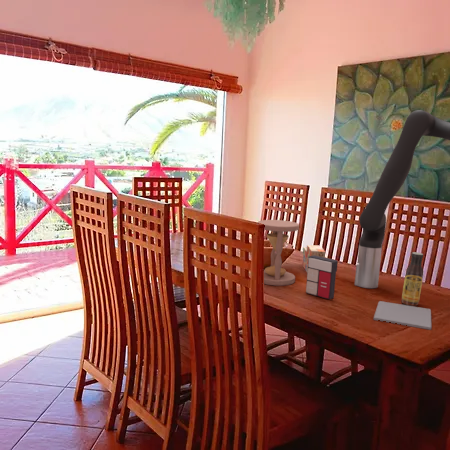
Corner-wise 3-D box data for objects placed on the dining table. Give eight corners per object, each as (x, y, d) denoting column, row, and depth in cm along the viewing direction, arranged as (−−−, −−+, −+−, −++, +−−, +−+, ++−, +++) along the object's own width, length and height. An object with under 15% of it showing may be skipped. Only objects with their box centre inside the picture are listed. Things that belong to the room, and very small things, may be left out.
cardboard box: (301, 265, 229) (303, 240, 227) (314, 265, 229) (316, 241, 227) (309, 277, 208) (311, 250, 206) (323, 277, 208) (325, 251, 206)
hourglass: (294, 287, 191) (298, 227, 186) (252, 283, 193) (255, 224, 189) (295, 276, 208) (299, 221, 204) (256, 272, 211) (260, 218, 206)
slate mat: (373, 319, 157) (373, 317, 157) (378, 302, 176) (379, 300, 175) (431, 329, 150) (431, 327, 150) (430, 311, 169) (430, 309, 169)
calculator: (304, 293, 183) (307, 256, 181) (310, 291, 186) (313, 254, 184) (328, 300, 176) (332, 262, 174) (334, 298, 179) (338, 260, 177)
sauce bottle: (401, 305, 174) (406, 253, 171) (401, 300, 180) (406, 250, 177) (420, 307, 172) (426, 255, 169) (419, 303, 178) (425, 252, 174)
